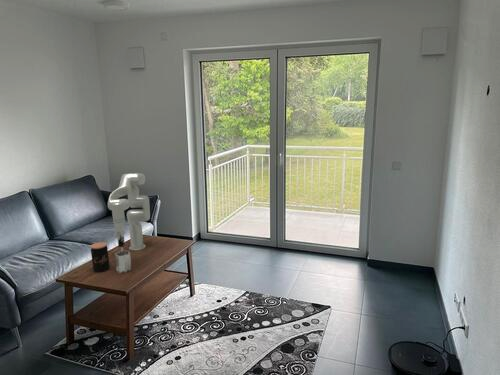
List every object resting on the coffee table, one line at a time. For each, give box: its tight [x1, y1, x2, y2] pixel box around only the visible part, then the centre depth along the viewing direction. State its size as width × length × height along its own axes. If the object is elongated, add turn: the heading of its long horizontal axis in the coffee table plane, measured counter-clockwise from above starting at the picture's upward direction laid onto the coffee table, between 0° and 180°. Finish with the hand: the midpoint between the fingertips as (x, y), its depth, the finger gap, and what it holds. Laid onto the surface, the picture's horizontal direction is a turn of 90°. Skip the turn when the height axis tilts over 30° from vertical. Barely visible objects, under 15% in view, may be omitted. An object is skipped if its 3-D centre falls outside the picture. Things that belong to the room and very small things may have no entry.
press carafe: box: [114, 250, 132, 274], centre depth 260 cm, size 12×9×12 cm
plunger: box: [120, 238, 125, 256], centre depth 257 cm, size 7×7×14 cm
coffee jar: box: [90, 241, 110, 273], centre depth 260 cm, size 11×11×18 cm
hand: (121, 245), depth 256 cm, fingers closed on plunger, 3 cm apart
